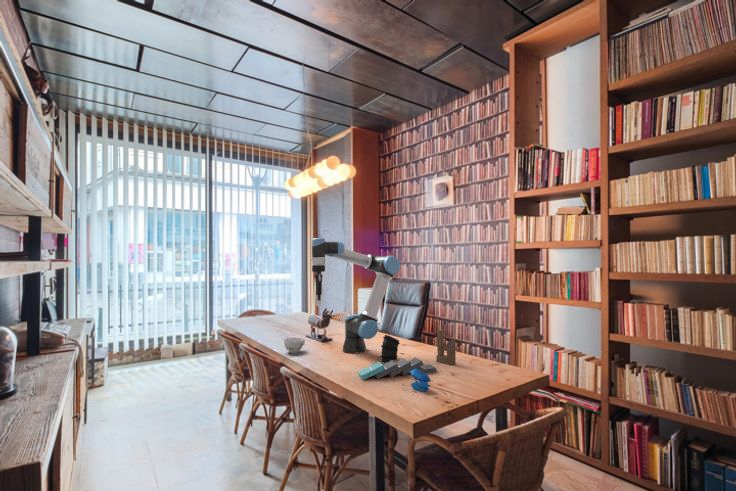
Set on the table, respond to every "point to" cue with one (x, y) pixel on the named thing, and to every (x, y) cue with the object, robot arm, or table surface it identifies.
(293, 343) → the teacup
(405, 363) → the domino
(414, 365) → the domino
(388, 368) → the domino
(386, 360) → the black angular block
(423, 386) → the crystal
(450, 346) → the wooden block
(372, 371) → the teal domino
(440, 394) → the table surface
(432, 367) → the domino
